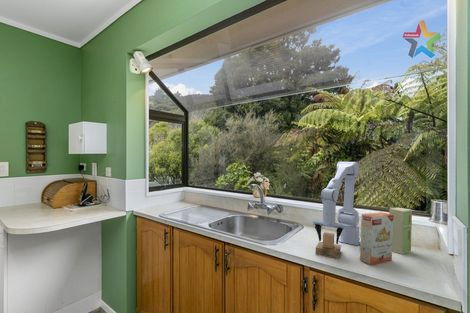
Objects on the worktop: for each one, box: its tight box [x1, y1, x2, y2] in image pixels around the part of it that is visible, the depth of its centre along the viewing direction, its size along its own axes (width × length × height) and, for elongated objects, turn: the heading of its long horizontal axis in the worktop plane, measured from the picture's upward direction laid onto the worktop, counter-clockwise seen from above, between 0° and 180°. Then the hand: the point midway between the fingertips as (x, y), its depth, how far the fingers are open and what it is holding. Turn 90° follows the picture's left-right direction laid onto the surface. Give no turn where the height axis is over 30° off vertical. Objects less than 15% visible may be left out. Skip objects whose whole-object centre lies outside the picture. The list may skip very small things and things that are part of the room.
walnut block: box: [315, 240, 342, 259], centre depth 115 cm, size 10×10×3 cm
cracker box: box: [359, 211, 394, 266], centre depth 107 cm, size 14×6×21 cm, turn 114°
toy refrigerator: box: [388, 207, 413, 255], centre depth 119 cm, size 8×7×21 cm
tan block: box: [322, 231, 335, 249], centre depth 115 cm, size 5×5×6 cm
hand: (328, 241), depth 115 cm, fingers open, 7 cm apart
